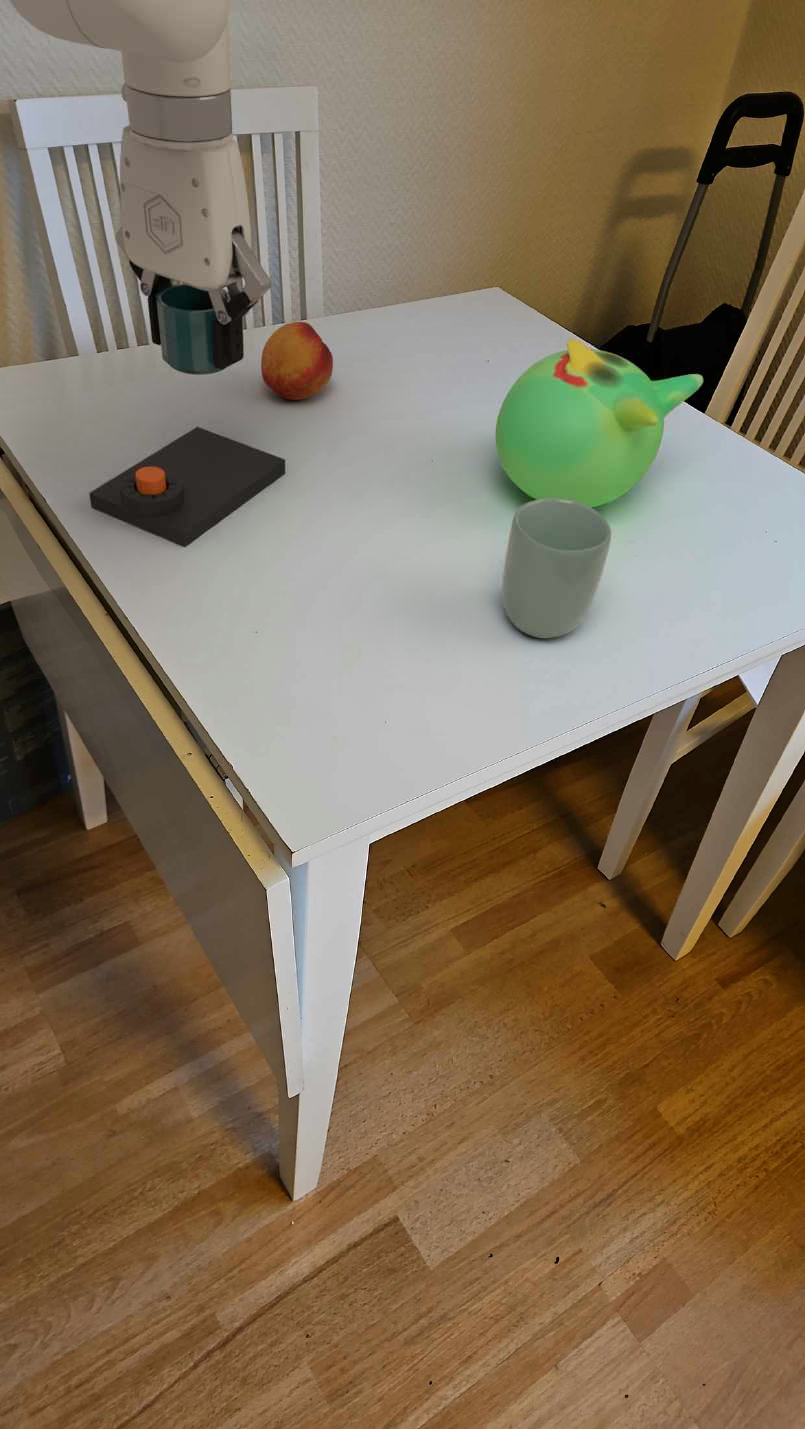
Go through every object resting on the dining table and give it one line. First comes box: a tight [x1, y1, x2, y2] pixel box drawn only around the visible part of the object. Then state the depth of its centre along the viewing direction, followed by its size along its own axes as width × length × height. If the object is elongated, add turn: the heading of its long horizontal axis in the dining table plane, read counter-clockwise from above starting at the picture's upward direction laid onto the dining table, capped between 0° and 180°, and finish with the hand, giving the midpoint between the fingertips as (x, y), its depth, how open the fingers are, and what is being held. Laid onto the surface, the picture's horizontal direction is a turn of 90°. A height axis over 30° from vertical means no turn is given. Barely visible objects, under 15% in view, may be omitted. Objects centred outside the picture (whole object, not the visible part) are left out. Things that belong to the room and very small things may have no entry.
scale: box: [88, 426, 286, 548], centre depth 92 cm, size 16×11×3 cm
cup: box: [501, 498, 612, 639], centre depth 79 cm, size 8×8×10 cm
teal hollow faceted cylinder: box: [156, 283, 231, 376], centre depth 82 cm, size 6×6×6 cm
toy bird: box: [495, 338, 704, 508], centre depth 93 cm, size 18×17×15 cm
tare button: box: [135, 467, 166, 495], centre depth 87 cm, size 3×3×2 cm
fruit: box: [260, 321, 334, 401], centre depth 106 cm, size 8×8×8 cm
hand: (197, 349), depth 83 cm, fingers closed on teal hollow faceted cylinder, 6 cm apart
